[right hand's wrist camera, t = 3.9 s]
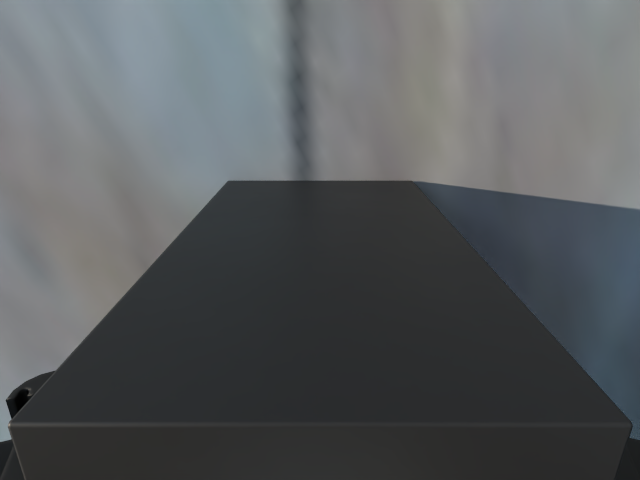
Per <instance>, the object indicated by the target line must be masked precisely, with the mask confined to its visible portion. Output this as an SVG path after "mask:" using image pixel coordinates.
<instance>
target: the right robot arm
mask: <svg viewBox="0 0 640 480" xmlns="http://www.w3.org/2000/svg"><path fill="white" fill-rule="evenodd" d="M54 372H55V371H52V372H48V373H45V374H41V375H39V376H37V377H35V378H32V379H30V380H28V381H26V382H24V383H23V384H22V385H20V386H19V387H18V388H16V389H15V390H13V392H12V393H11V394H10V396H9V397H8V398H7V399H6V402H7V406H8V409H9V412H10V415H11V418H13V417H14V416H15V415H16V414H17V413H18V412H19V411H20V410H21V409H22V407H23V406H24V405H25V404H26V403H27V402H28V401H29V400H30V399H31V398H32V396H33V395H34V394H35V393H36V392H37V391H38V390H39V389H40V388H41V387H42V385H43V384H44V383H45V382H46V381H47V380H48V379H49V378H50V377H51V376H52V374H53V373H54ZM0 480H25V478H24V475H23V472H22V469H21V466H20V463H19V460H18V457H17V453H16V450H15V447H14V444H13V441H12V439H11V440H8V441H4V442H0ZM616 480H640V440H636V439H632V438H629V440H628V443H627V446H626V449H625V452H624V455H623V458H622V461H621V465H620V468H619V471H618V474H617V477H616Z"/></svg>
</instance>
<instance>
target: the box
mask: <svg viewBox="0 0 640 480" xmlns="http://www.w3.org/2000/svg"><path fill="white" fill-rule="evenodd" d="M8 428H9V431H10V435H11V438H12V441H13V444H14V447H15V450H16V453H17V457H18V460H19V463H20V466H21V469H22V472H23V475H24V478H25V480H616V477H617V474H618V471H619V468H620V465H621V461H622V458H623V455H624V452H625V449H626V446H627V443H628V440H629V436H630V433H631V430H632V423H631V421H630V420H629V419H628V418H627V417H626V416H625V415H624V413H623V412H622V411H621V410H620V409H619V408H618V407H617V406H616V405H615V404H614V402H613V401H612V400H611V399H610V398H609V397H608V396H607V395H606V394H605V393H604V391H603V390H602V389H601V388H600V387H599V386H598V385H597V384H596V383H595V382H594V380H593V379H592V378H591V377H590V376H589V375H588V374H587V373H586V372H585V371H584V369H583V368H582V367H581V366H580V365H579V364H578V363H577V362H576V361H575V360H574V358H573V357H572V356H571V355H570V354H569V353H568V352H567V351H566V350H565V349H564V347H563V346H562V345H561V344H560V343H559V342H558V341H557V340H556V339H555V338H554V336H553V335H552V334H551V333H550V332H549V331H548V330H547V329H546V328H545V327H544V325H543V324H542V323H541V322H540V321H539V320H538V319H537V318H536V317H535V316H534V314H533V313H532V312H531V311H530V310H529V309H528V308H527V307H526V306H525V305H524V303H523V302H522V301H521V300H520V299H519V298H518V297H517V296H516V295H515V294H514V292H513V291H512V290H511V289H510V288H509V287H508V286H507V285H506V284H505V283H504V281H503V280H502V279H501V278H500V277H499V276H498V275H497V274H496V273H495V272H494V270H493V269H492V268H491V267H490V266H489V265H488V264H487V263H486V262H485V261H484V259H483V258H482V257H481V256H480V255H479V254H478V253H477V252H476V251H475V250H474V248H473V247H472V246H471V245H470V244H469V243H468V242H467V241H466V240H465V239H464V237H463V236H462V235H461V234H460V233H459V232H458V231H457V230H456V229H455V228H454V226H453V225H452V224H451V223H450V222H449V221H448V220H447V219H446V218H445V217H444V215H443V214H442V213H441V212H440V211H439V210H438V209H437V208H436V207H435V206H434V204H433V203H432V202H431V201H430V200H429V199H428V198H427V197H426V196H425V195H424V193H423V192H422V191H421V190H420V189H419V188H418V187H417V186H416V185H415V184H414V182H413V181H228V182H227V183H226V184H225V185H224V186H223V187H222V188H221V189H220V190H219V191H218V193H217V194H216V195H215V196H214V197H213V198H212V199H211V200H210V201H209V203H208V204H207V205H206V206H205V207H204V208H203V209H202V210H201V211H200V212H199V214H198V215H197V216H196V217H195V218H194V219H193V220H192V221H191V222H190V223H189V225H188V226H187V227H186V228H185V229H184V230H183V231H182V232H181V233H180V234H179V236H178V237H177V238H176V239H175V240H174V241H173V242H172V243H171V244H170V245H169V247H168V248H167V249H166V250H165V251H164V252H163V253H162V254H161V255H160V257H159V258H158V259H157V260H156V261H155V262H154V263H153V264H152V265H151V266H150V268H149V269H148V270H147V271H146V272H145V273H144V274H143V275H142V276H141V277H140V279H139V280H138V281H137V282H136V283H135V284H134V285H133V286H132V287H131V288H130V290H129V291H128V292H127V293H126V294H125V295H124V296H123V297H122V298H121V299H120V301H119V302H118V303H117V304H116V305H115V306H114V307H113V308H112V309H111V310H110V312H109V313H108V314H107V315H106V316H105V317H104V318H103V319H102V320H101V322H100V323H99V324H98V325H97V326H96V327H95V328H94V329H93V330H92V331H91V333H90V334H89V335H88V336H87V337H86V338H85V339H84V340H83V341H82V342H81V344H80V345H79V346H78V347H77V348H76V349H75V350H74V351H73V352H72V353H71V355H70V356H69V357H68V358H67V359H66V360H65V361H64V362H63V363H62V364H61V366H60V367H59V368H58V369H57V370H56V371H55V372H54V373H53V374H52V376H51V377H50V378H49V379H48V380H47V381H46V382H45V383H44V384H43V385H42V387H41V388H40V389H39V390H38V391H37V392H36V393H35V394H34V395H33V396H32V398H31V399H30V400H29V401H28V402H27V403H26V404H25V405H24V406H23V407H22V409H21V410H20V411H19V412H18V413H17V414H16V415H15V416H14V417H13V418H12V420H11V421H10V422H9V424H8Z"/></svg>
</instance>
